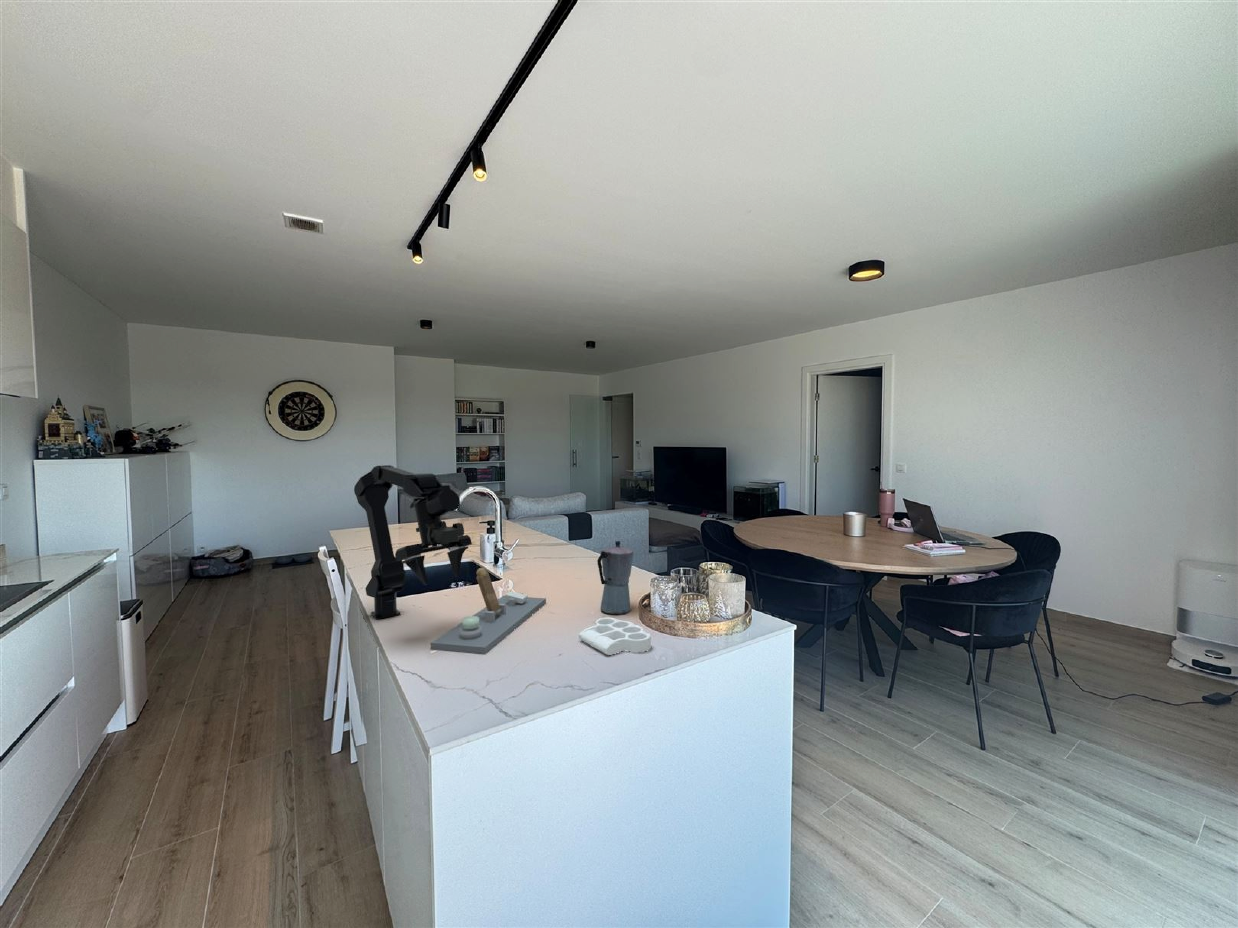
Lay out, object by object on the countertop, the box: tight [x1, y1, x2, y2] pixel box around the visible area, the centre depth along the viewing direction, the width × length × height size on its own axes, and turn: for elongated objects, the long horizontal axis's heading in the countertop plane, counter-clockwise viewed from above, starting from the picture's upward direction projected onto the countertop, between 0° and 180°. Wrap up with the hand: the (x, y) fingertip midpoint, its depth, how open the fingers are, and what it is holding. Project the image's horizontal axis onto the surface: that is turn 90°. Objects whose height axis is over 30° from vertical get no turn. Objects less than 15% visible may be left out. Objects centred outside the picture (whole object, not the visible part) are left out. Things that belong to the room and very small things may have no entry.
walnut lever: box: [475, 567, 502, 617], centre depth 133 cm, size 3×4×14 cm, turn 167°
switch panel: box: [430, 592, 547, 655], centre depth 133 cm, size 14×38×4 cm, turn 167°
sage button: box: [461, 615, 479, 629], centre depth 120 cm, size 4×4×2 cm
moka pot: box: [596, 540, 635, 615], centre depth 142 cm, size 10×15×20 cm, turn 148°
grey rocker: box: [504, 590, 529, 604], centre depth 146 cm, size 6×4×1 cm, turn 77°
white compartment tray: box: [578, 617, 652, 656], centre depth 120 cm, size 3×18×15 cm
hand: (442, 580), depth 125 cm, fingers open, 9 cm apart
